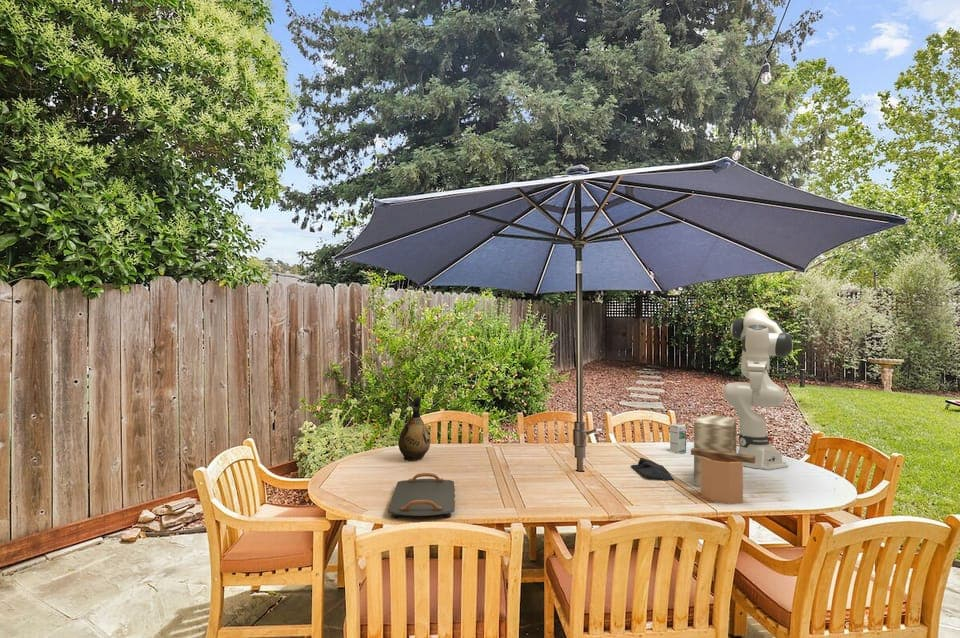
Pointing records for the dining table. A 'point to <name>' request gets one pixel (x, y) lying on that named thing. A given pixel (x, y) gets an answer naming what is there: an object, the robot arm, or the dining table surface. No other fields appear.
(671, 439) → the syrup box
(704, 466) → the pot
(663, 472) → the black cloth
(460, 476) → the dining table surface
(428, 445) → the ceramic jug
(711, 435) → the zigzag patterned cylinder
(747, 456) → the slat
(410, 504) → the serving board
